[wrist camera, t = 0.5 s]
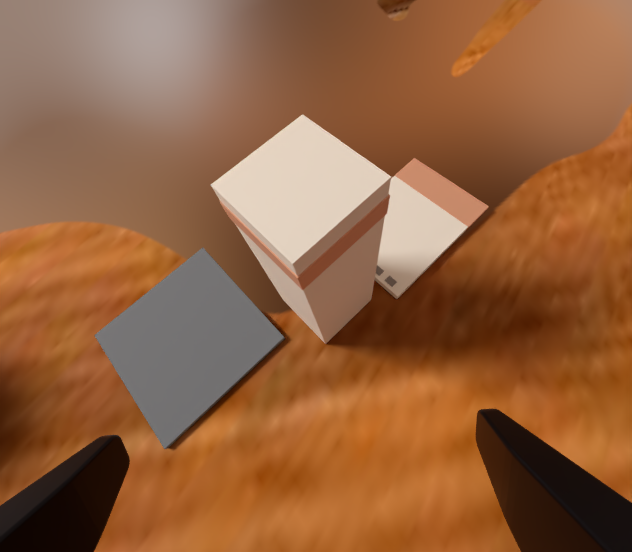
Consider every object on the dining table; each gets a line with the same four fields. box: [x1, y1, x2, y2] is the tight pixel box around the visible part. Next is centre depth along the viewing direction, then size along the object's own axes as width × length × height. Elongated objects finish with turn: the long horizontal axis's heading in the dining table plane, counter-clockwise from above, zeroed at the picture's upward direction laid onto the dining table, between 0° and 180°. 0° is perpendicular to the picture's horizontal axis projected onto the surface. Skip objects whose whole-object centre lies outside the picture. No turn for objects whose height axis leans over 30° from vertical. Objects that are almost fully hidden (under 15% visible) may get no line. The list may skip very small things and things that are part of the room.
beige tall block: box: [211, 115, 391, 344], centre depth 17 cm, size 5×5×13 cm
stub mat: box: [95, 248, 285, 449], centre depth 23 cm, size 10×10×1 cm
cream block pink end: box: [375, 158, 489, 299], centre depth 24 cm, size 10×7×1 cm
